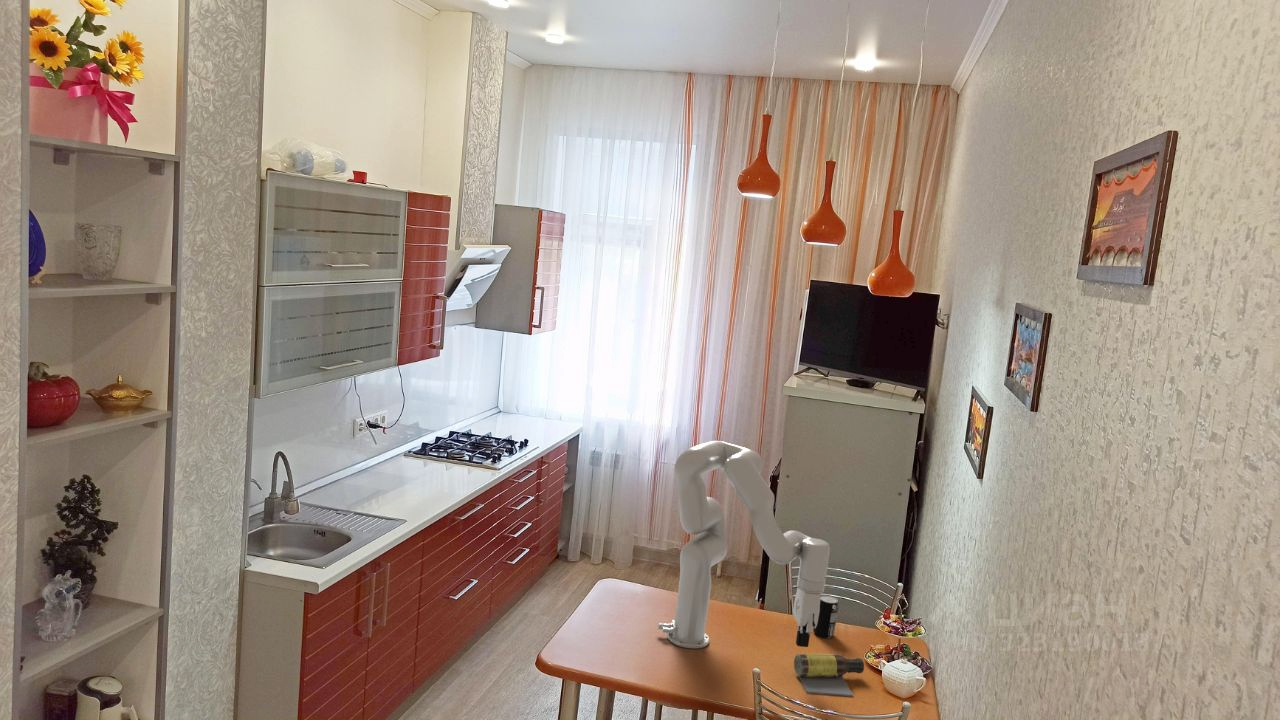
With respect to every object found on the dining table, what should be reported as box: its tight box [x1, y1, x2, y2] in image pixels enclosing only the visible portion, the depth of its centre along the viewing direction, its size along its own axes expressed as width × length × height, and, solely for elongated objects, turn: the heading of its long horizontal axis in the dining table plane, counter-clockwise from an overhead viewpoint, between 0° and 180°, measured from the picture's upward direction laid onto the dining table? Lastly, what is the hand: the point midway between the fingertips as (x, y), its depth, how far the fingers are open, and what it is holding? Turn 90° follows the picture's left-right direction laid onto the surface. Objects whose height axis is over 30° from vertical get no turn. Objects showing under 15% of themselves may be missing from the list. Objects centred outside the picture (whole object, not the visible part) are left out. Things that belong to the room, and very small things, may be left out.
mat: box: [798, 676, 854, 697], centre depth 261 cm, size 13×15×1 cm
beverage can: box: [812, 594, 839, 639], centre depth 292 cm, size 7×7×12 cm
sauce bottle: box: [793, 653, 865, 677], centre depth 264 cm, size 6×6×20 cm
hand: (801, 645), depth 259 cm, fingers closed
